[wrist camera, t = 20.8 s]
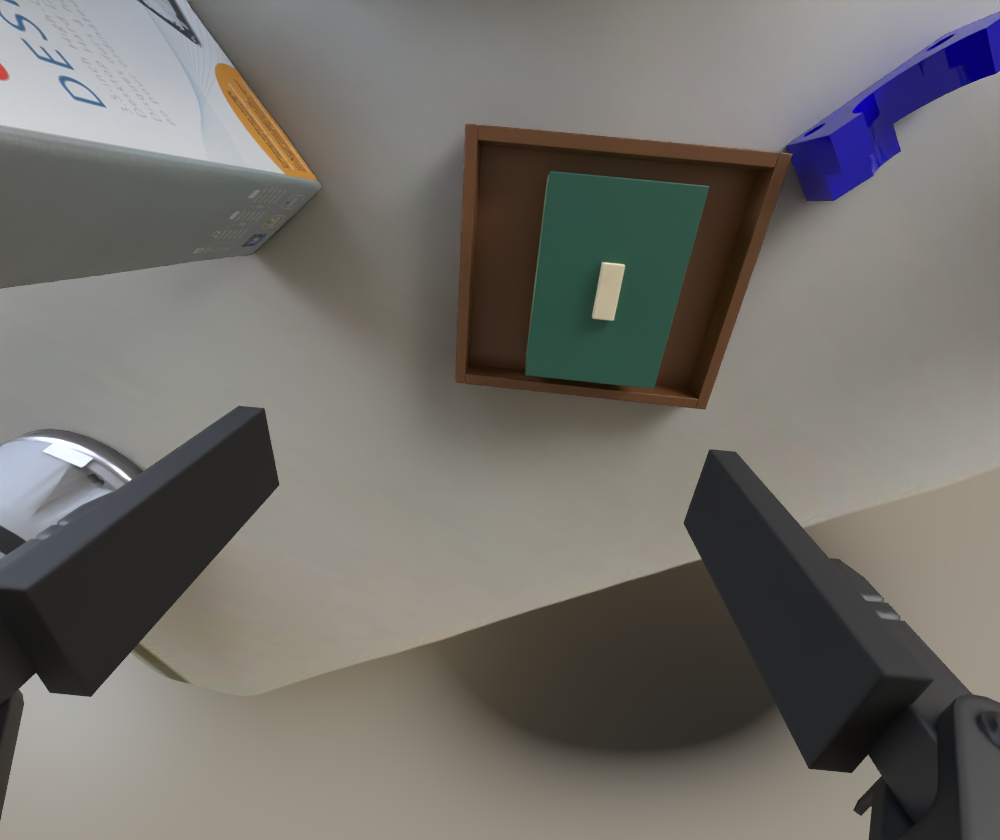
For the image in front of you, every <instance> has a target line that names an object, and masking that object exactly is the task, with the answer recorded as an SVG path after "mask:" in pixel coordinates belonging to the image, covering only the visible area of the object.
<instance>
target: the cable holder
mask: <svg viewBox="0 0 1000 840" xmlns="http://www.w3.org/2000/svg"><path fill="white" fill-rule="evenodd" d="M999 71H1000V11H999V12H997V13H994V14H992V15H990V16H987V17H985V18H983V19H980V20H978V21H975V22H973V23H971V24H968V25H966V26H964V27H961V28H959V29H957V30H954V31H952V32H949V33H947V34H945V35H944V36H942V37H941V38H939V39H938V40H936V41H935V42H934V43H932V44H931V45H929V46H928V47H926V48H925V49H924V50H922V51H921V52H919V53H918V54H916V55H915V56H914V57H912V58H911V59H909V60H908V61H906V62H905V63H904V64H902V65H901V66H899V67H898V68H896V69H895V70H893V71H892V72H891V73H889V74H888V75H886V76H885V77H883V78H882V79H881V80H879V81H878V82H876V83H875V84H873V85H872V86H871V87H869V88H868V89H866V90H865V91H863V92H862V93H861V94H859V95H858V96H856V97H855V98H853V99H852V100H851V101H849V102H848V103H846V104H845V105H843V106H842V107H840V108H839V109H838V110H836V111H835V112H833V113H832V114H830V115H829V116H828V117H826V118H825V119H823V120H822V121H820V122H819V123H818V124H816V125H815V126H813V127H812V128H810V129H809V130H808V131H806V132H805V133H803V134H802V135H800V136H799V137H798V138H796V139H795V140H793V141H792V142H790V143H789V144H788V145H786V148H787V151H788V153H791V154H793V155H792V158H791V161H792V164H793V166H794V169H795V171H796V174H797V177H798V179H799V182H800V184H801V187H802V189H803V192H804V194H805V197H806V200H807V201H834V200H836V199H837V198H839V197H841V196H842V195H844V194H845V193H847V192H848V191H850V190H852V189H853V188H855V187H856V186H858V185H860V184H861V183H863V182H864V181H866V180H867V179H869V178H871V177H872V176H874V173H875V172H876V171H877V169H878V168H879V167H880V166H881V165H882V164H884V163H885V162H886V161H887V160H889V159H890V158H891V157H893V156H894V155H896V154H897V153H899V152H900V151H901V150H900V147H899V143H898V140H897V136H896V133H895V130H894V126H893V124H894V123H895V122H897V121H898V120H900V119H901V118H903V117H905V116H906V115H908V114H910V113H911V112H913V111H915V110H917V109H918V108H920V107H922V106H924V105H926V104H927V103H929V102H931V101H933V100H935V99H937V98H939V97H941V96H943V95H945V94H947V93H949V92H951V91H953V90H956V89H958V88H960V87H962V86H965V85H967V84H969V83H972V82H974V81H977V80H979V79H982V78H985V77H987V76H990V75H994V74H996V73H998V72H999Z"/></svg>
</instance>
